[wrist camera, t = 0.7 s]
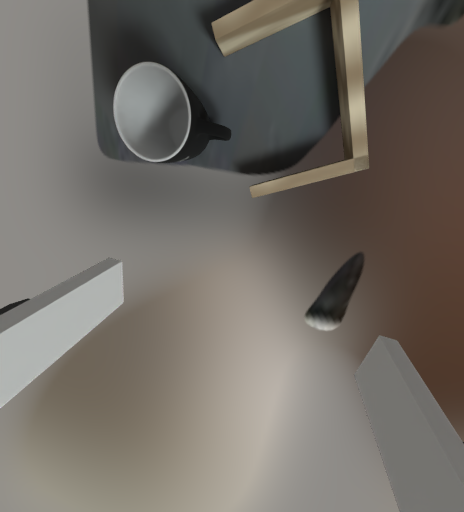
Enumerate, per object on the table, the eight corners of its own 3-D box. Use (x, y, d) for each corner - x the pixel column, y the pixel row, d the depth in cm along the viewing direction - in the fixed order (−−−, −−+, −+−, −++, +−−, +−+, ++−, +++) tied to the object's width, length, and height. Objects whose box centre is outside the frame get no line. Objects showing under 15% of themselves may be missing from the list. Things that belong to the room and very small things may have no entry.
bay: (221, 42, 27) (211, 22, 23) (343, -19, 23) (354, -54, 19) (255, 194, 33) (252, 198, 29) (358, 168, 29) (368, 168, 25)
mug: (160, 158, 34) (114, 154, 25) (162, 89, 30) (110, 55, 21) (233, 173, 32) (213, 174, 23) (245, 102, 29) (227, 71, 20)
